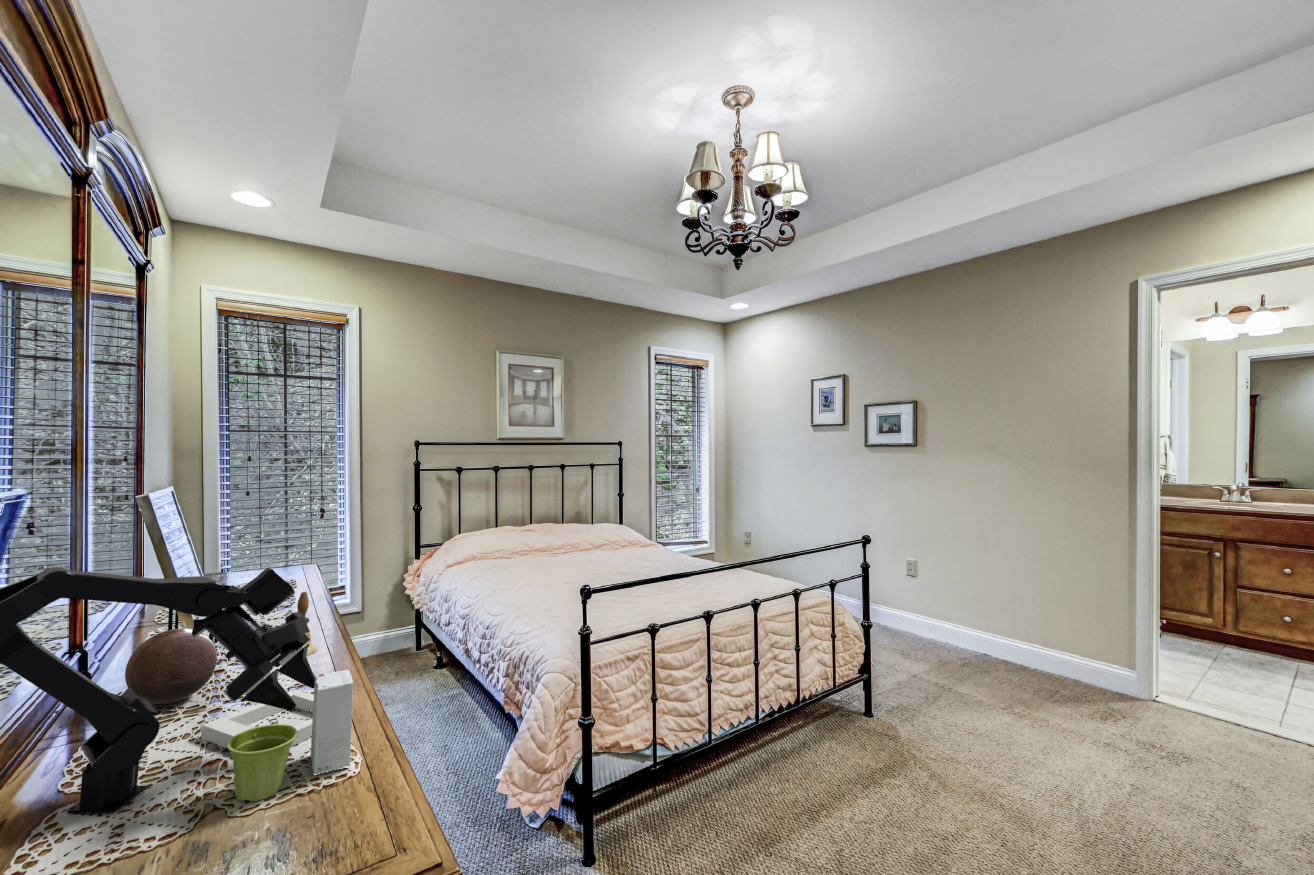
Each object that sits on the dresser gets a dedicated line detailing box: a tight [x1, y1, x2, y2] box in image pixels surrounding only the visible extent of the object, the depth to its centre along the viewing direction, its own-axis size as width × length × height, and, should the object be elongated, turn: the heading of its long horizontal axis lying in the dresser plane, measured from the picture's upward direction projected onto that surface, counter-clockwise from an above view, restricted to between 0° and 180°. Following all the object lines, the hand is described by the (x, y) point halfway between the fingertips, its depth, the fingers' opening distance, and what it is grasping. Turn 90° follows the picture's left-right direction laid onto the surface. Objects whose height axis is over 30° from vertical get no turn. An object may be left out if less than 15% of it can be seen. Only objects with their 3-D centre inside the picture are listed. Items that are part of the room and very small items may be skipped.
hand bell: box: [296, 591, 318, 656], centre depth 154 cm, size 8×8×16 cm
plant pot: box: [227, 723, 297, 802], centre depth 93 cm, size 9×9×9 cm
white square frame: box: [200, 689, 314, 749], centre depth 113 cm, size 18×17×2 cm
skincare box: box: [310, 669, 354, 776], centre depth 103 cm, size 8×6×15 cm
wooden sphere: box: [124, 628, 218, 705], centre depth 122 cm, size 15×15×15 cm
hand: (305, 696), depth 102 cm, fingers open, 9 cm apart
